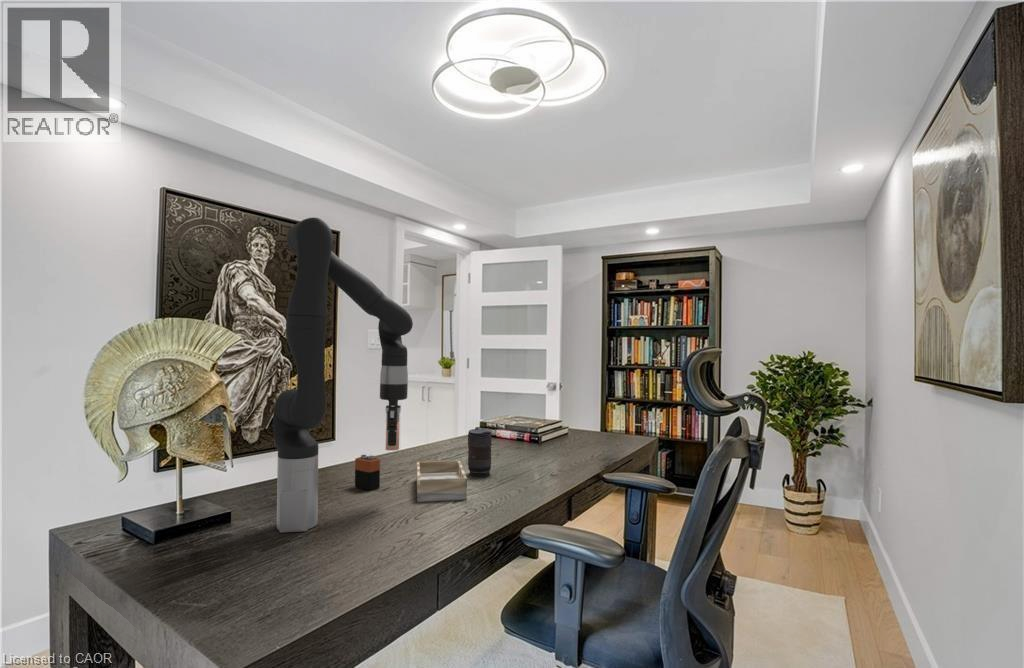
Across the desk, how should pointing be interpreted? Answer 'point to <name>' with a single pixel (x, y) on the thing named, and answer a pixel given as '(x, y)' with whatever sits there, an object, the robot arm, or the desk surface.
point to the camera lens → (479, 452)
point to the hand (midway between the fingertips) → (392, 443)
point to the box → (441, 481)
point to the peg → (396, 437)
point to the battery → (367, 472)
